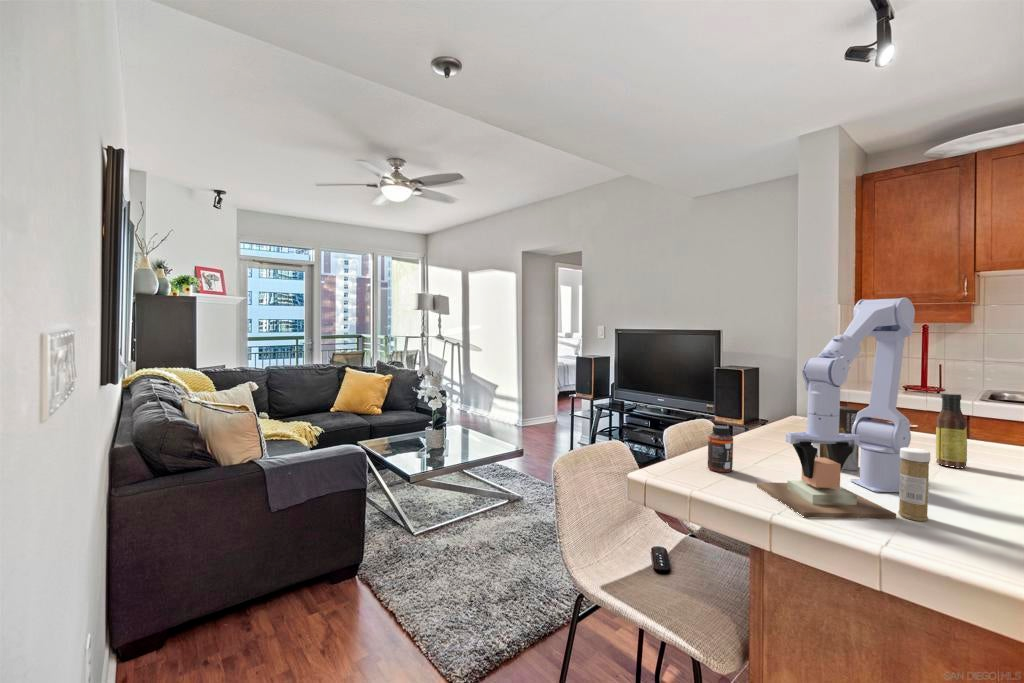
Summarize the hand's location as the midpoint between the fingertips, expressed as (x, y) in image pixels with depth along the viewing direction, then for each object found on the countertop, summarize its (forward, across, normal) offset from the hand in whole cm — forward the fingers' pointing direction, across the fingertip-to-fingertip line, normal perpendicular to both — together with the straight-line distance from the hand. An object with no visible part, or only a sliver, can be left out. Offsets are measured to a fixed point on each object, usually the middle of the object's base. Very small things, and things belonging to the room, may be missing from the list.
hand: (821, 477), depth 102 cm
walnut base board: (+5, 0, 0) cm, 5 cm away
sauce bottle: (+5, -54, -29) cm, 62 cm away
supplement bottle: (+5, +12, -22) cm, 26 cm away
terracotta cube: (+2, 0, 0) cm, 2 cm away
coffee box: (+5, -21, -27) cm, 35 cm away
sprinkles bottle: (+5, -13, +8) cm, 16 cm away
